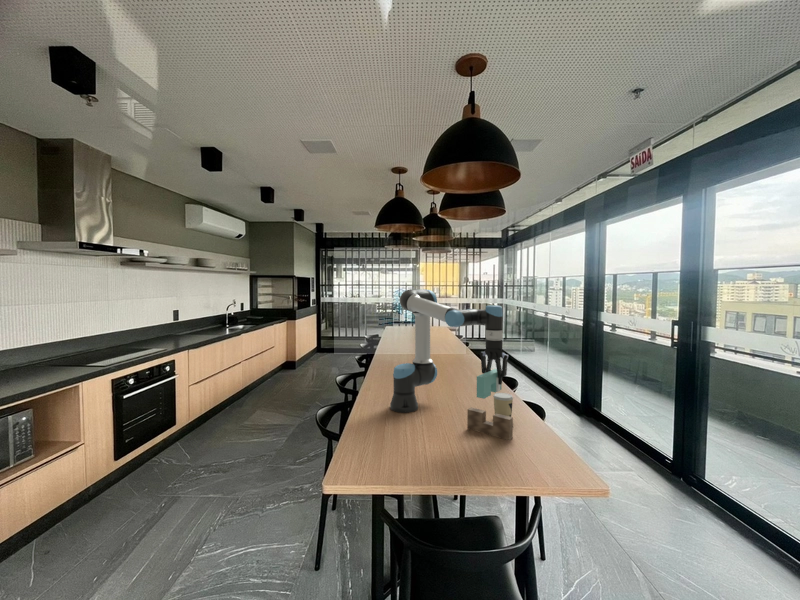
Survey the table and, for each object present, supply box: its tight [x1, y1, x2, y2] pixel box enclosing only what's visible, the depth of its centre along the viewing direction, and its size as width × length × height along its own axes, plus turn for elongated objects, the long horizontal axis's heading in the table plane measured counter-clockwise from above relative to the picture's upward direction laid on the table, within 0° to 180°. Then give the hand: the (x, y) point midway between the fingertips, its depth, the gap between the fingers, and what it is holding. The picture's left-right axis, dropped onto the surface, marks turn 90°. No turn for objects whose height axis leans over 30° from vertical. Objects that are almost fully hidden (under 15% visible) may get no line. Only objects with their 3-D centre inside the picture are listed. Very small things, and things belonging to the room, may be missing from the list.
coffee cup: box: [492, 392, 514, 417], centre depth 169 cm, size 9×9×12 cm
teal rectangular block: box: [476, 368, 503, 400], centre depth 152 cm, size 4×18×9 cm, turn 140°
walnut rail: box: [466, 407, 514, 441], centre depth 152 cm, size 20×4×9 cm, turn 50°
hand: (493, 390), depth 156 cm, fingers closed on teal rectangular block, 3 cm apart
